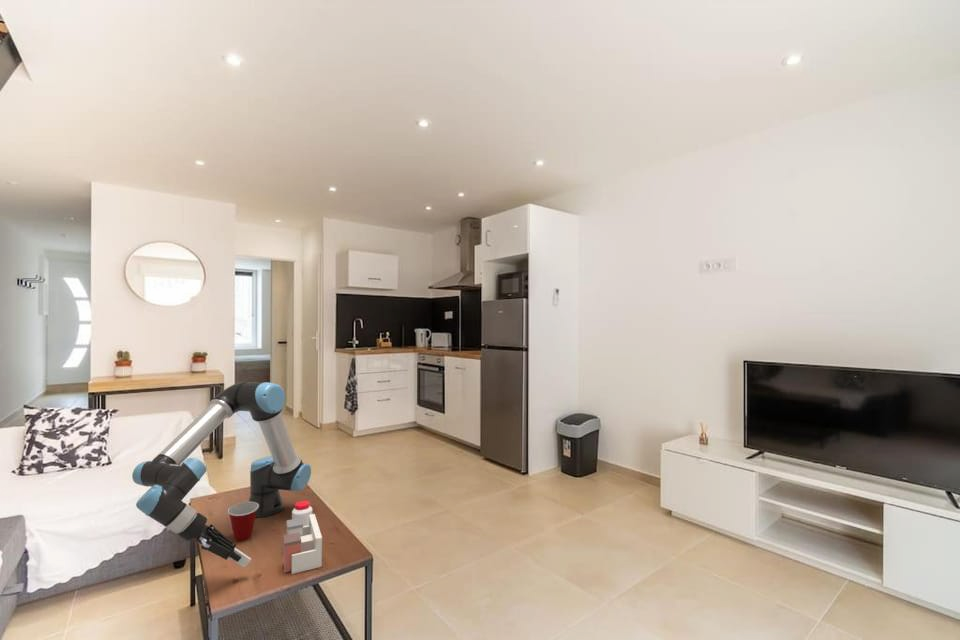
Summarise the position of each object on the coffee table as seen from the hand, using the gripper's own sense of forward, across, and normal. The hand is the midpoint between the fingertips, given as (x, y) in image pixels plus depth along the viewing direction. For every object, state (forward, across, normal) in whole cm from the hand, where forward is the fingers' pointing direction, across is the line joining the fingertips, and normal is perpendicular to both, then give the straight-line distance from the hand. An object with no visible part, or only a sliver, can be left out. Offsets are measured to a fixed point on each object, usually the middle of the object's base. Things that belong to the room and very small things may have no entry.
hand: (247, 562), depth 142 cm
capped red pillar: (+13, 0, +6) cm, 14 cm away
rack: (+16, -6, +9) cm, 19 cm away
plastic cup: (+2, -30, -5) cm, 31 cm away
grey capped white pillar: (+14, -12, +7) cm, 20 cm away
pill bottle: (+17, -26, +10) cm, 33 cm away
